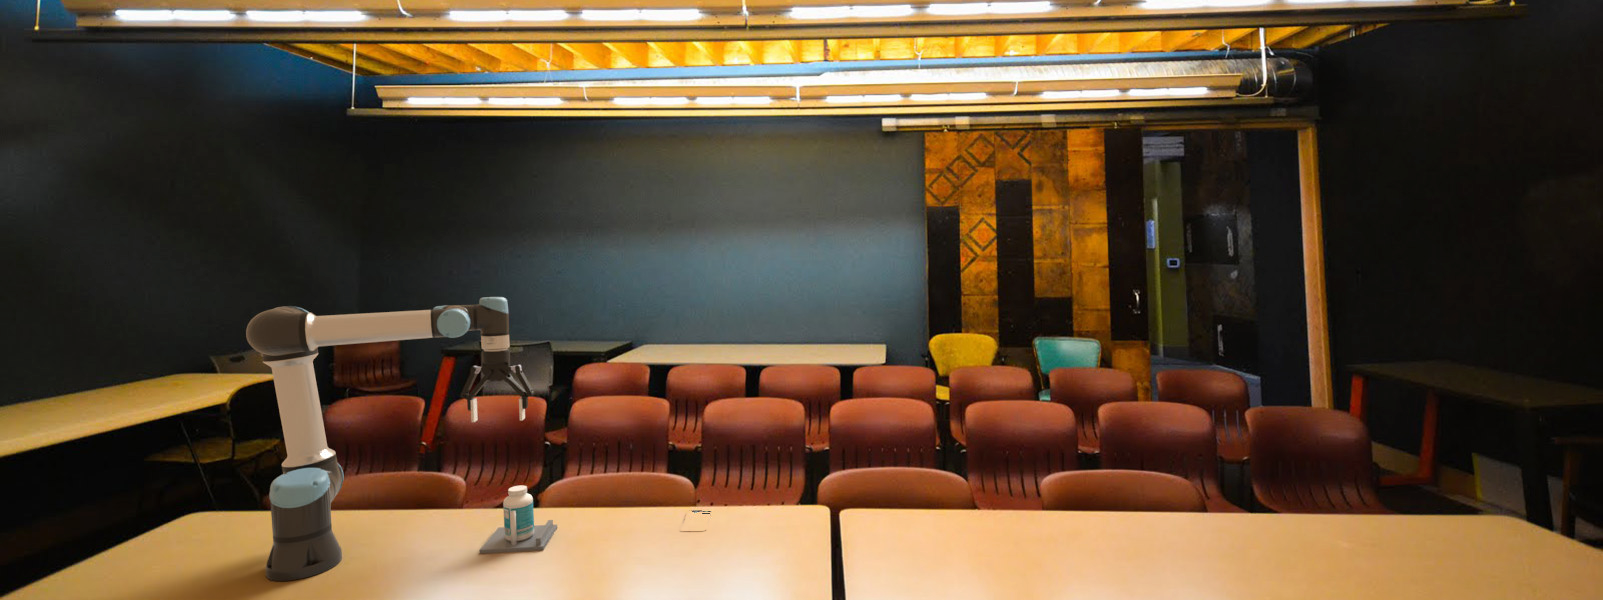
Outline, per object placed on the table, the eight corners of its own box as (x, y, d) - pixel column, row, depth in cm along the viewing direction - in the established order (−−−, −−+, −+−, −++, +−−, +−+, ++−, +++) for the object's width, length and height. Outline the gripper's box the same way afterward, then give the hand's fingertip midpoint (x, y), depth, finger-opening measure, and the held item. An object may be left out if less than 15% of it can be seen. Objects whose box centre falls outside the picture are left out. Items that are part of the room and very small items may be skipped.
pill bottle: (539, 531, 180) (537, 483, 179) (525, 543, 172) (523, 493, 171) (514, 530, 180) (512, 482, 179) (498, 542, 173) (497, 492, 172)
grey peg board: (479, 553, 169) (478, 516, 168) (498, 530, 182) (497, 496, 182) (543, 550, 170) (542, 513, 170) (557, 527, 184) (556, 493, 183)
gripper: (445, 352, 185) (448, 425, 187) (535, 350, 188) (538, 422, 190) (456, 348, 193) (459, 418, 194) (543, 346, 196) (545, 415, 197)
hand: (498, 420), depth 192 cm, fingers open, 13 cm apart
